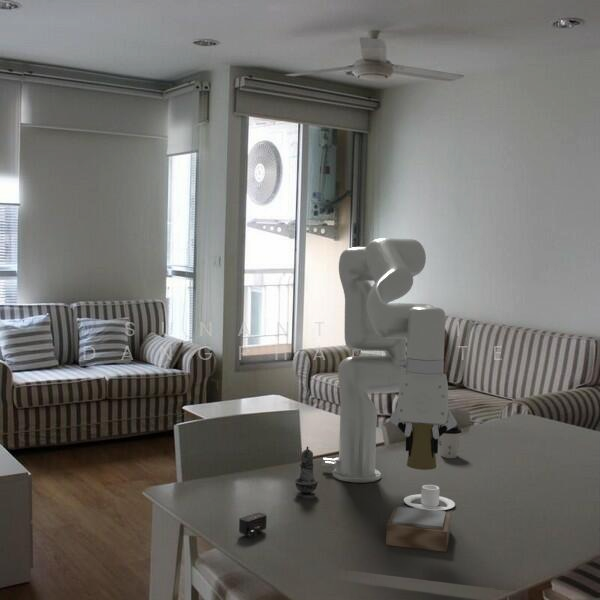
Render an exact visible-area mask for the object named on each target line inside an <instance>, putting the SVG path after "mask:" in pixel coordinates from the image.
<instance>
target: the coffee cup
mask: <svg viewBox="0 0 600 600" xmlns="http://www.w3.org/2000/svg"><path fill="white" fill-rule="evenodd" d="M444 424H445V423H444ZM444 424H442V425H444ZM442 425H439V428H440V427H441V426H442ZM461 433H462V429H461V428H459V426H458V424H457V425H456V426H455V427H453V428H451V429H449V430H447V431H446V432H445V433H443V434H442V435H441V436H440V437H439V438H438V450H439V456H440V457H442V458H445V459H446V458H447V459H454V458H457V457H458V453H459V447H460V441H461V435H462V434H461Z"/></svg>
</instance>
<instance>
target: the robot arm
mask: <svg viewBox="0 0 600 600" xmlns="http://www.w3.org/2000/svg"><path fill="white" fill-rule="evenodd" d="M426 257H427V255H426V251H425V248H424V246H423V245H422V244H421V242H420V241H418V240H417V239H412V238H393V237H391V238H390V237H389V238H388V237H382V238H376V239H373V240H371V241H370V242H369V243H368V244H367V245H366V246H355V247H350V248H347V249H345V250H343V251H342V253H341V254H340V256H339V260H338V274H339V280H340V283H341V286H342V289H343V294H344V342H345V345H346V347H347V348H348V349H350V350H352V351H359V352H360V351H363V352H365V351H366V352H384V354H385V355H383V356H382V355H381V356H379V355H377V356H376V355H375V356H374V355H353V356H348V357H346V358H344V359H343V360H341V361H340V363H339V364H338V368H337V369H338V370H337V375H338V376H337V377H338V385H339V395H340V398H339V399H340V400H339V401H340V411H339V413H340V414H339V415H340V416H339V420H340V421H339V441H338V442H339V449H338V457H335V458H331V457H330V458H329V457H323V458H322V466H325V467H327V468H333V470H332V476H333V477H334V478H335V479H336V480H339V481H343V482H349V483H356V484H357V483H363V484H365V483H372V482H377V481H378V480H380V479H381V477H382V473H381V472H380V471H379V470H378V469H376V453H377V451H376V450H377V449H376V448H377V447H376V446H377V426H378V424H377V420H378V419H377V418H378V412H377V407H376V405H375V403H374V402H373V401H372V400H371V398H370V397H369V394H375V393H377V394H379V393H380V394H381V393H382V394H383V393H387V394H388V393H390V394H391V393H398V397H397V398H398V400H397V407H396V408H395V409H394V411H393V412H392V413H391V415H390V417H389V419H388V421H389V422H390V423H392V424H393V425H395V426H396V427H398V429H399V430H400V431H401V432H402V433H403V434H404V436H405V451H406V452H407V453H408V455H407V456H410V455H411V449H412V442H413V438H412V431H413V427H412V423H424V424H431V425H433V428H432V431H433V435H432V437H433V438H432V439H431V452H432V458H433V456H434V453H435V455H436V454H438V453H439V451H438V450H439V437H440V436H441V435H442V434H443V433H445V432H446V431H447V430H449V429H451V428H453V427H455V426H456V425H457V426H458V423H457V422H458V421H457V420H456V418H455V417H454V415H453V414H452V412H451V410H450V408H449V406H450V405H449V403H450V402H449V384H448V378H447V374H446V373H444V365H445V362H444V360H445V337H446V336H445V335H446V334H445V332H446V313H445V311H444V309H443V308H440V307H436V306H433V305H431V304H428V303H427V304H426V303H409V302H408V303H405V302H404V303H403V302H402V303H401V302H397V303H395V302H394V301H396V300H398V299H401V298H403V297H404V296H406V295H407V294H408V293H409V292H410V290H411V289H412V287H413V285H414V277H416V276H418V275H419V274H420V273H422V272H423V270H424V268H425V266H426V261H427V258H426ZM370 281H372V282H374V284H373V285H371V283H370ZM393 302H394V303H393ZM406 341H407V342H406ZM447 421H448V422H447ZM442 424H444V425H442ZM440 425H442V426H441V427H440ZM439 427H440V428H439Z"/></svg>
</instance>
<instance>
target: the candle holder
mask: <svg viewBox="0 0 600 600" xmlns="http://www.w3.org/2000/svg"><path fill="white" fill-rule="evenodd" d="M440 490H441V489H440V486H438V485H435V484H424V485H422V486H421V493H419V494H411V495H407V496H406V497H404V498H403V502H404V503H405V504H406V505H407V506H410V508H417V509H427V510H436V511H447V510H448V511H449V510H450V509H453V508H454V507H455V506H456V503H455V502H454V500H452V499H450V498H447V497H444V496H442V495H441V496H440ZM417 499H420V504H419V503H414V502H413V503H412V501H415V500H417ZM440 501H441V502H443V503H445V505H446V506H440V505H439V504H440Z"/></svg>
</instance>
